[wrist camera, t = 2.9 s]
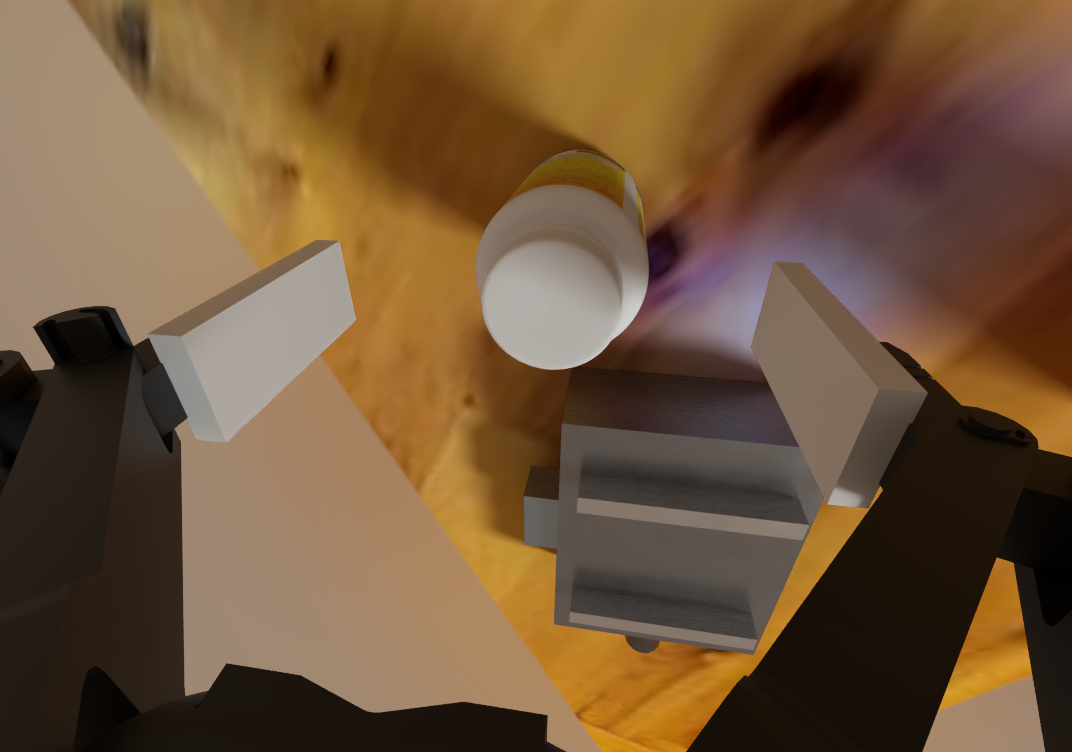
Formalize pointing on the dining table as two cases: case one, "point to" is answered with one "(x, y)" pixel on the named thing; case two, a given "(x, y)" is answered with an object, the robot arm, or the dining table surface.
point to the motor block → (671, 508)
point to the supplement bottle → (564, 261)
